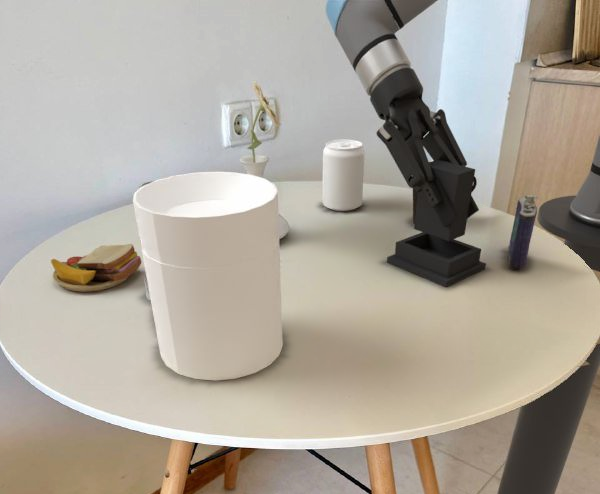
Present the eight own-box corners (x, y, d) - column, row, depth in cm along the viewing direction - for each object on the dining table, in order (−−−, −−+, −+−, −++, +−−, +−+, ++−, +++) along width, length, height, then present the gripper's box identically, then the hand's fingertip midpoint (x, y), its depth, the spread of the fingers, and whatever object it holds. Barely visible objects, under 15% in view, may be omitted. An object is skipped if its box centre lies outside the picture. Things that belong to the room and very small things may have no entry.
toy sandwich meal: (92, 256, 102) (86, 229, 99) (155, 270, 97) (150, 242, 94) (37, 285, 93) (28, 256, 90) (103, 302, 88) (96, 272, 85)
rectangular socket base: (386, 262, 98) (388, 242, 96) (425, 246, 104) (428, 227, 101) (446, 287, 91) (449, 266, 89) (485, 269, 96) (489, 248, 94)
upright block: (413, 228, 95) (420, 164, 89) (429, 222, 97) (438, 159, 91) (448, 241, 91) (458, 174, 85) (464, 235, 93) (475, 169, 87)
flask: (507, 248, 103) (520, 185, 96) (524, 249, 102) (539, 186, 95) (508, 270, 95) (522, 204, 89) (527, 272, 95) (542, 205, 88)
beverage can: (322, 212, 118) (322, 149, 111) (322, 199, 124) (323, 138, 117) (362, 212, 118) (366, 149, 111) (361, 199, 124) (364, 138, 117)
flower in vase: (283, 251, 103) (278, 91, 88) (219, 247, 104) (204, 89, 89) (296, 224, 113) (294, 77, 98) (239, 221, 115) (228, 76, 100)
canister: (298, 325, 82) (296, 177, 70) (256, 390, 70) (245, 224, 58) (193, 309, 86) (174, 167, 74) (137, 368, 74) (103, 209, 62)
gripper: (412, 92, 97) (478, 218, 97) (336, 107, 89) (409, 244, 88) (442, 59, 91) (513, 193, 91) (363, 70, 82) (442, 219, 82)
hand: (461, 218), depth 89 cm, fingers closed on upright block, 4 cm apart
